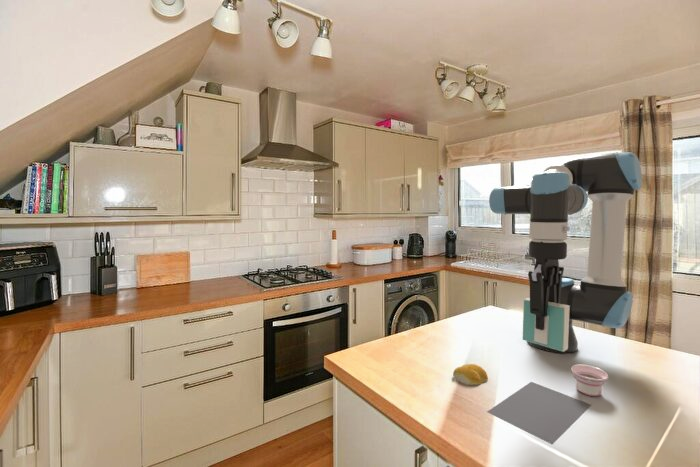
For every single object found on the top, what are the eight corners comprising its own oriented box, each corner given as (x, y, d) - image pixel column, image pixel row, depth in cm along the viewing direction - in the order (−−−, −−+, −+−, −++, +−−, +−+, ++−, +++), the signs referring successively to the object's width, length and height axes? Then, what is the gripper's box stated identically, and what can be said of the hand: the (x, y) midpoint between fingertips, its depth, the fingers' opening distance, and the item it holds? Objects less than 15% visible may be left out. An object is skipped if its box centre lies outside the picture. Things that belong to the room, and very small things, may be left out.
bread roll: (492, 381, 95) (493, 367, 94) (472, 390, 90) (472, 376, 90) (467, 369, 102) (468, 356, 101) (447, 377, 97) (447, 364, 96)
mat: (487, 414, 79) (487, 411, 79) (531, 383, 93) (531, 381, 93) (552, 446, 68) (552, 444, 68) (591, 407, 82) (591, 404, 82)
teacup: (621, 413, 79) (622, 388, 79) (560, 399, 85) (561, 375, 85) (613, 390, 90) (614, 367, 89) (559, 378, 96) (560, 357, 95)
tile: (521, 340, 83) (523, 299, 82) (527, 337, 84) (528, 297, 84) (563, 352, 76) (564, 307, 75) (567, 349, 77) (569, 305, 77)
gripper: (550, 244, 70) (546, 354, 72) (579, 239, 80) (575, 337, 82) (514, 241, 76) (511, 344, 78) (545, 237, 86) (542, 329, 88)
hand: (544, 340), depth 80 cm, fingers closed on tile, 3 cm apart
